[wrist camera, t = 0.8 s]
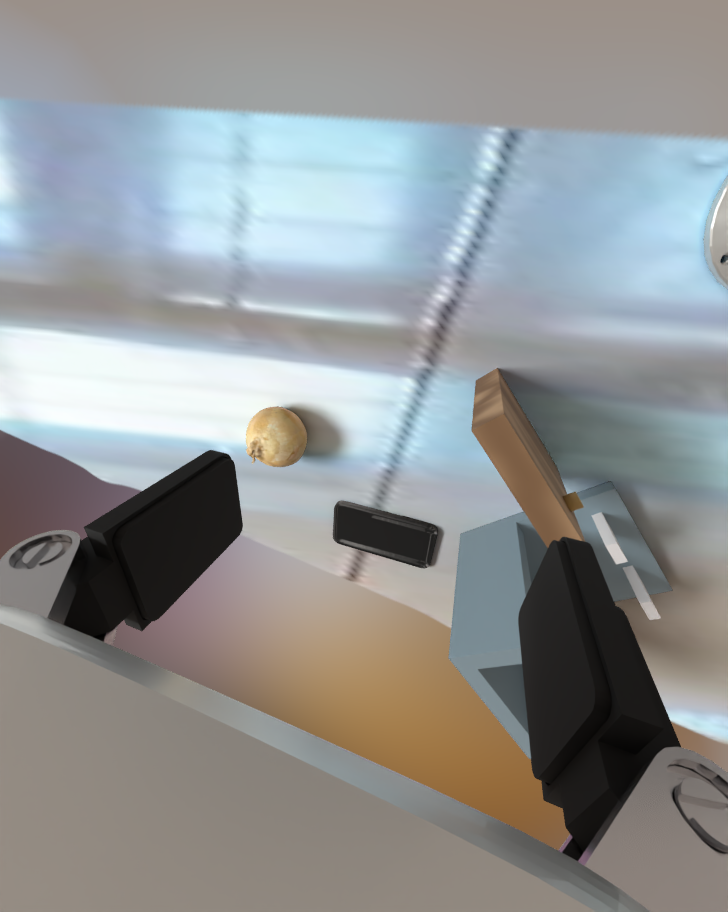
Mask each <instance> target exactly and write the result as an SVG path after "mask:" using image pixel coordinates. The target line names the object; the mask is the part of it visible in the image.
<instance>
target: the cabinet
mask: <svg viewBox="0 0 728 912" xmlns="http://www.w3.org/2000/svg"><path fill="white" fill-rule="evenodd" d="M577 495H578V496H579V498H580V500H581V502H582V504H583V506H584V508H581V509H578V510H575V511H574V513H575V516H576V519H577V521H578V524H579V526H580V529H581V532H582V534H583V537H584V539H585V542H588V543H590V544H591V546H592V548H593V550H594V553H595V555H596V558H597V560H598V563H599V565H600V568H601V570H602V573H603V576H604V578H605V581H606V583H607V586H608V588H609V591H610V593H611V596H612V598H613V601H614V602H615V601H620V600H626V599H631V598H636V597H637V599H638V601H639V603H640V605H641V607H642V608H643V610H644V612H645V613H646V615H647V617H648V618H649V620H654V619H660V618H661V617H660V615H659V613H658V611H657V609H656V607H655V606H654V604H653V602H652V600H651V598H650V596H649V595H652V594H657V593H663V592H668V591H673V590H672V588H671V586H670V585H669V583H668V581H667V579H666V577H665V576H664V574H663V572H662V570H661V569H660V567H659V565H658V563H657V562H656V560H655V558H654V556H653V554H652V553H651V551H650V549H649V547H648V546H647V544H646V542H645V540H644V538H643V537H642V535H641V533H640V531H639V530H638V528H637V526H636V524H635V522H634V521H633V519H632V517H631V515H630V514H629V512H628V510H627V508H626V506H625V505H624V503H623V501H622V499H621V498H620V496H619V494H618V492H617V490H616V489H615V487H614V485H613V484H612V482H611V481H610V482H607V483H604V484H601V485H598V486H596V487H593V488H590V489H587V490H584V491H581V492H578V493H577ZM547 549H548V548H547V546H546V545H545V543H544V542H543V540H542V539H541V537H540V535H539V534H538V532H537V531H536V529H535V528H534V526H533V525H532V523H531V522H530V520H529V518H528V517H527V515H526V514H525V512H522V513H519V514H516V515H513V516H510V517H507V518H504V519H502V520H499V521H496V522H493V523H490V524H487V525H484V526H482V527H479V528H476V529H473V530H470V531H467V532H465V533H462V534H460V544H459V555H458V565H457V576H456V586H455V597H454V607H453V618H452V628H451V639H450V649H449V659H450V661H451V662H452V663H453V664H454V666H455V667H456V668H457V669H458V670H459V672H460V673H461V674H462V676H464V678H465V679H466V681H467V682H468V683H469V684H470V686H471V687H472V688H473V689H474V691H475V692H476V693H477V694H478V695H479V697H480V698H481V699H482V701H483V702H484V703H485V704H486V705H487V707H488V708H489V709H490V710H491V712H492V713H493V714H494V715H495V717H496V718H497V719H498V720H499V722H500V723H501V724H502V725H503V727H504V728H505V729H506V730H507V732H508V733H509V734H510V735H511V737H512V738H513V739H514V740H515V742H516V743H517V744H518V745H519V747H520V748H521V749H522V750H523V752H524V753H525V754H526V755H527V757H528V758H529V759H531V753H530V743H529V732H528V721H527V711H526V700H525V689H524V679H523V668H522V657H521V647H520V636H519V625H518V616H519V611H520V608H521V606H522V603H523V601H524V599H525V597H526V595H527V593H528V590H529V588H530V586H531V584H532V582H533V580H534V578H535V575H536V573H537V571H538V569H539V567H540V565H541V562H542V560H543V558H544V556H545V554H546V552H547Z"/></svg>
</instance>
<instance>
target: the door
mask: <svg viewBox="0 0 728 912" xmlns="http://www.w3.org/2000/svg"><path fill="white" fill-rule="evenodd" d="M472 432H473V433H474V435H475V437H476V438H477V440H478V441H479V443H480V444H481V446H482V447H483V449H484V450H485V452H486V454H487V455H488V457H489V458H490V460H491V461H492V463H493V464H494V466H495V467H496V469H497V471H498V472H499V474H500V475H501V477H502V478H503V480H504V481H505V483H506V484H507V486H508V488H509V489H510V491H511V492H512V494H513V495H514V497H515V498H516V500H517V501H518V503H519V505H520V506H521V508H522V509H523V511H524V512H525V514H526V515H527V517H528V518H529V520H530V522H531V523H532V525H533V526H534V528H535V529H536V531H537V532H538V534H539V535H540V537H541V539H542V540H543V542H544V543H545V545H546V546H547V548H548V547H549V545H550V543H551V542H552V541H553V540H556V541H559V540H560V539H561V538H562V537H568V538H572V539H576V540H580V541H584V542H585V539H584V537H583V534H582V532H581V529H580V526H579V524H578V521H577V519H576V516H575V513H574V511H575V510H578V509H581V508H584V506H583V504H582V502H581V500H580V498H579V496H578V495H577V493H576V492H573V493H570V494H567V493H566V490H565V487H564V485H563V482H562V480H561V477H560V474H559V472H558V469H557V467H556V465H555V463H554V462H553V460H552V458H551V457H550V455H549V453H548V452H547V450H546V448H545V447H544V445H543V443H542V442H541V440H540V438H539V437H538V435H537V433H536V432H535V430H534V428H533V427H532V425H531V423H530V422H529V420H528V418H527V417H526V415H525V413H524V412H523V410H522V408H521V407H520V405H519V403H518V402H517V400H516V398H515V397H514V395H513V393H512V392H511V390H510V388H509V387H508V385H507V383H506V382H505V380H504V378H503V376H502V375H501V373H500V371H499V370H498V368H497V369H495V370H493V371H491V372H490V373H488V374H486V375H485V376H483V377H481V378H480V379H478V380H476V386H475V397H474V409H473V420H472Z"/></svg>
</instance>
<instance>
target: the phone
mask: <svg viewBox="0 0 728 912" xmlns="http://www.w3.org/2000/svg"><path fill="white" fill-rule="evenodd" d="M437 534H438V529H437V527H436V526H434V525H433V524H430V523H426V522H423V521H419V520H415V519H411V518H408V517H404V516H400V515H396V514H392V513H388V512H385V511H381V510H377V509H373V508H369V507H366V506H362V505H358V504H354V503H350V502H347V501H338V502H337V504H336V505H335V507H334V525H333V539H334V540H335V542H337V543H338V544H341V545H345V546H348V547H352V548H355V549H358V550H362V551H365V552H369V553H372V554H375V555H379V556H382V557H385V558H389V559H392V560H396V561H399V562H402V563H406V564H409V565H413V566H416V567H419V568H427V567H429V566H430V563H431V559H432V554H433V550H434V546H435V542H436V538H437Z"/></svg>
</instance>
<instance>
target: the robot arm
mask: <svg viewBox="0 0 728 912" xmlns="http://www.w3.org/2000/svg"><path fill="white" fill-rule="evenodd" d="M703 240H704V255H705V259H706V262H707V264H708V267H709V270H710V272H711V273H712V274H713V276H714V277H715V279H716V280H717V282H718V283H720V284H721V285H722V286H723V287H725V288H726V289H727V290H728V176H727V177H726V179H725V180H724V182H723V184H722V186H721V188H720V189H719V191H718V193H717V195H716V197H715V199H714V201H713V203H712V206H711V209H710V212H709V214H708V217H707V220H706V226H705V232H704V239H703ZM723 255H724V256H725V259H724V261H723V262H721V263H720V259H721V258H722V256H723ZM242 527H243V523H242V516H241V508H240V501H239V493H238V486H237V479H236V471H235V464H234V462H233V460H231V457H230V456H229V455H228V454H225V453H221V452H217V451H213V450H209V451H207V452H205V453H204V454H202V455H200V456H199V457H197V458H195V459H194V460H192V461H191V462H189V463H187V464H186V465H184V466H182V467H181V468H179V469H178V470H176V471H174V472H173V473H171V474H169V475H168V476H166V477H165V478H163V479H161V480H160V481H158V482H157V483H155V484H153V485H152V486H150V487H148V488H147V489H145V490H144V491H142V492H140V493H139V494H137V495H135V496H134V497H132V498H131V499H129V500H127V501H126V502H124V503H122V504H121V505H119V506H118V507H116V508H114V509H113V510H111V511H110V512H108V513H106V514H105V515H103V516H101V517H100V518H98V519H97V520H95V521H93V522H92V523H90V524H89V525H87V526H85V527H84V529H85V531H86V533H87V536H88V537H86V538H85V539H83V540H82V541H81V539H80V537H79V535H78V534H77V533H75V532H73V531H68V530H57V531H50V532H46V533H42V534H39V535H36V536H33V537H31V538H28V539H27V540H25V541H23V542H21V543H19V544H17V545H16V546H14V547H13V548H12V549H10V550H9V551H8V552H7V553H6V554H5V555H4V556H3V557H2V558H1V560H0V912H728V773H727V772H726V771H724V770H723V769H722V768H720V767H719V766H718V765H716V764H715V763H714V762H712V761H711V760H709V759H707V758H705V757H704V756H702V755H700V754H698V753H696V752H694V751H691V750H688V749H684V748H681V746H680V743H679V741H678V738H677V736H676V734H675V731H674V729H673V726H672V724H671V722H670V719H669V717H668V714H667V712H666V710H665V707H664V705H663V702H662V700H661V698H660V695H659V693H658V690H657V688H656V686H655V683H654V681H653V678H652V676H651V674H650V671H649V669H648V666H647V664H646V662H645V659H644V657H643V654H642V652H641V650H640V647H639V645H638V643H637V640H636V638H635V635H634V633H633V631H632V628H631V626H630V623H629V621H628V619H627V617H626V615H625V613H624V611H623V610H622V609H620V608H619V607H616V606H615V603H614V601H613V598H612V596H611V593H610V591H609V588H608V586H607V583H606V581H605V578H604V576H603V573H602V570H601V568H600V565H599V563H598V560H597V558H596V555H595V553H594V550H593V548H592V546H591V544H590V543H588V542H584V541H580V540H576V539H572V538H568V537H562V538H561V539H560V540H559V541H556V540H553V541H552V542H551V543H550V545H549V547H548V549H547V552H546V554H545V556H544V558H543V560H542V562H541V565H540V567H539V569H538V571H537V573H536V575H535V578H534V580H533V582H532V584H531V586H530V588H529V590H528V593H527V595H526V597H525V599H524V601H523V603H522V606H521V608H520V611H519V616H518V625H519V636H520V647H521V657H522V668H523V679H524V689H525V700H526V711H527V721H528V732H529V743H530V753H531V763H532V771H533V774H534V776H535V778H536V779H539V780H541V781H542V790H543V799H544V801H546V802H549V803H551V804H554V805H556V806H558V807H561V808H563V812H564V819H565V826H566V828H567V830H568V831H569V833H570V835H569V837H568V838H567V839H566V841H565V842H564V843H563V845H562V846H561V848H560V849H559V850H556V849H554V848H552V847H550V846H548V845H546V844H545V843H543V842H541V841H539V840H537V839H535V838H533V837H531V836H529V835H528V834H526V833H524V832H522V831H520V830H518V829H515V828H514V827H512V826H510V825H508V824H505V823H503V822H501V821H499V820H497V819H495V818H493V817H490V816H489V815H486V814H484V813H482V812H480V811H478V810H476V809H474V808H472V807H470V806H467V805H465V804H463V803H461V802H458V801H457V800H455V799H453V798H451V797H448V796H446V795H444V794H442V793H440V792H438V791H436V790H434V789H431V788H429V787H427V786H425V785H423V784H421V783H419V782H416V781H414V780H412V779H410V778H407V777H405V776H403V775H400V774H399V773H396V772H394V771H392V770H390V769H387V768H385V767H383V766H381V765H379V764H376V763H374V762H372V761H370V760H368V759H365V758H363V757H361V756H359V755H357V754H354V753H352V752H350V751H348V750H345V749H343V748H341V747H339V746H337V745H334V744H332V743H330V742H328V741H326V740H323V739H321V738H319V737H317V736H314V735H312V734H310V733H308V732H305V731H303V730H301V729H299V728H297V727H294V726H292V725H290V724H288V723H285V722H283V721H281V720H279V719H277V718H274V717H272V716H270V715H268V714H265V713H263V712H261V711H259V710H256V709H254V708H252V707H250V706H247V705H245V704H243V703H241V702H238V701H236V700H234V699H232V698H229V697H227V696H225V695H223V694H220V693H218V692H216V691H214V690H211V689H209V688H207V687H205V686H202V685H200V684H198V683H196V682H193V681H191V680H189V679H187V678H184V677H182V676H180V675H178V674H175V673H173V672H171V671H169V670H166V669H164V668H162V667H160V666H157V665H155V664H153V663H150V662H148V661H146V660H143V659H141V658H139V657H137V656H134V655H132V654H130V653H128V652H125V651H123V650H121V649H118V648H116V647H114V646H113V643H114V639H115V635H116V630H117V626H118V625H119V624H120V623H121V622H122V621H123V620H125V623H126V625H128V626H131V627H133V628H136V629H138V630H140V631H143V630H144V629H145V628H146V626H148V625H149V624H150V623H151V621H155V620H157V619H159V618H160V617H161V616H162V615H163V614H164V613H165V612H166V611H167V610H168V609H169V608H170V606H171V605H173V604H174V602H175V601H176V600H177V599H178V598H179V597H180V596H181V595H182V594H183V593H184V592H185V591H186V590H187V589H188V588H189V587H190V586H191V585H192V584H193V583H194V582H195V581H196V580H197V578H199V577H200V575H201V574H202V573H203V572H204V571H205V570H206V569H207V568H208V567H209V566H210V565H211V564H212V563H213V562H214V561H215V560H216V559H217V558H218V557H219V556H220V555H221V554H222V553H223V552H224V551H225V550H226V549H227V548H228V546H229V545H230V544H231V543H232V542H233V541H234V540H235V539H236V538H237V537H238V536H239V535H240V533H241V531H242Z"/></svg>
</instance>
